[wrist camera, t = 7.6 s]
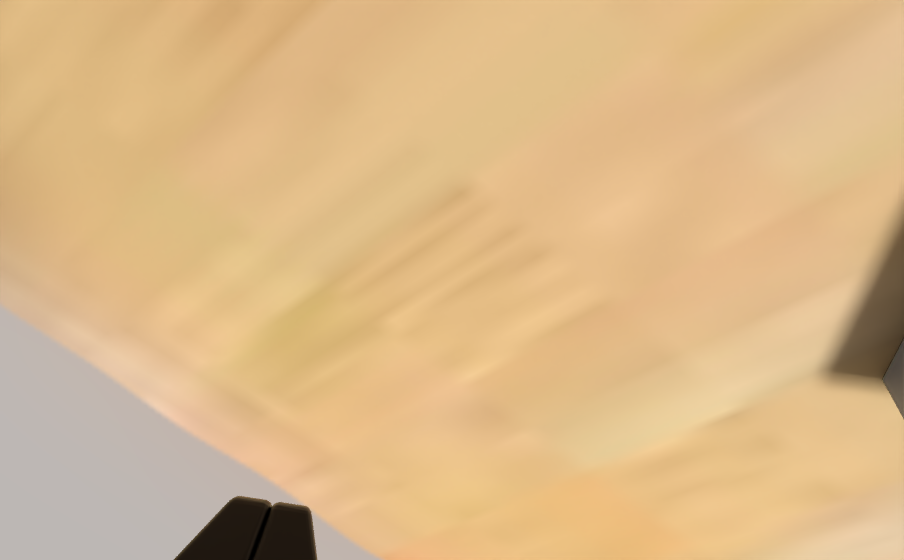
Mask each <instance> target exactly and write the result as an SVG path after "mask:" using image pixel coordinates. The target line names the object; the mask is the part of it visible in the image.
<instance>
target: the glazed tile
mask: <svg viewBox="0 0 904 560" xmlns="http://www.w3.org/2000/svg"><path fill="white" fill-rule="evenodd" d="M882 380H883V382H884V384H885V386H886V387H887V389H888V391H889V393H890V395H891V397H892V398H893V400H894V402H895V404H896V406H897V408H898V409H899V411H900V413H901V415H902V417H903V419H904V339H903V341H902V343H901V345H900V347H899V349H898V351H897V353H896V355H895V357H894V358H893V360H892V362H891V364H890V366H889V368H888V370H887V372H886V374H885V375H884V377H883V379H882Z"/></svg>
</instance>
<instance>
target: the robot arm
mask: <svg viewBox="0 0 904 560" xmlns="http://www.w3.org/2000/svg"><path fill="white" fill-rule="evenodd" d="M174 560H317V554H316V546H315V539H314V530H313V522H312V515H311V511H310V509H309V508H308V507H307V506H302V505H295V504H289V503H282V502H279V503H275V504H274V505H273V506H272V505H271V503H270V502H269V501H267V500H263V499H256V498H250V497H242V496H237V497H235V498H233V499H232V500H230V501H229V502H228V503H227V504H226V505H225V506H224V507H223V508H222V509H221V510H220V511H219V512H218V514H216V515H215V517H214V518H213V519H212V520H211V521H210V522H209V523H208V524H207V525H206V526H205V527H204V528H203V529H202V530H201V531H200V532H199V533H198V535H197V536H196V537H195V538H194V539H193V540H192V541H191V542H190V543H189V544H188V545H187V546H186V547H185V548H184V549H183V550H182V552H181V553H180V554H179V555H178V556H177V557H176V558H175V559H174Z"/></svg>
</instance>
